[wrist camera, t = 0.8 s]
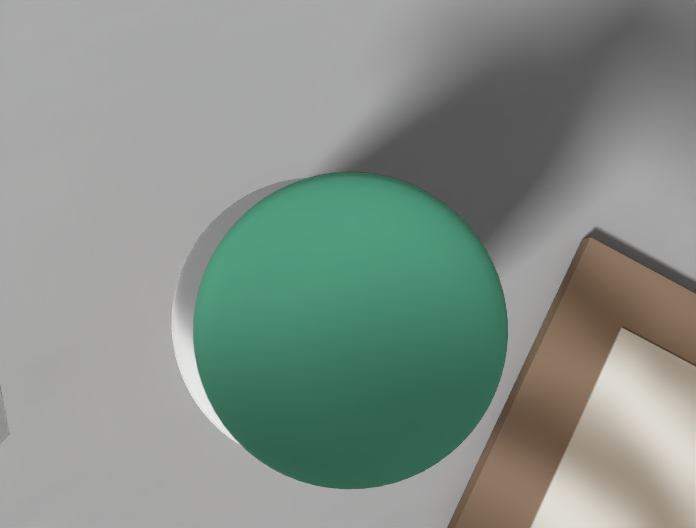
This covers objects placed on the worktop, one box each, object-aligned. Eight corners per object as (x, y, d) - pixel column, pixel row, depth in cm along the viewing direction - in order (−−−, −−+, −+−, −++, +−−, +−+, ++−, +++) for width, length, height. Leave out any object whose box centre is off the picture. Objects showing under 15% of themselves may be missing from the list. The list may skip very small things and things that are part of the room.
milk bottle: (257, 197, 29) (226, -39, 9) (414, 273, 30) (700, 202, 10) (177, 358, 28) (-42, 475, 9) (341, 434, 29) (492, 706, 9)
